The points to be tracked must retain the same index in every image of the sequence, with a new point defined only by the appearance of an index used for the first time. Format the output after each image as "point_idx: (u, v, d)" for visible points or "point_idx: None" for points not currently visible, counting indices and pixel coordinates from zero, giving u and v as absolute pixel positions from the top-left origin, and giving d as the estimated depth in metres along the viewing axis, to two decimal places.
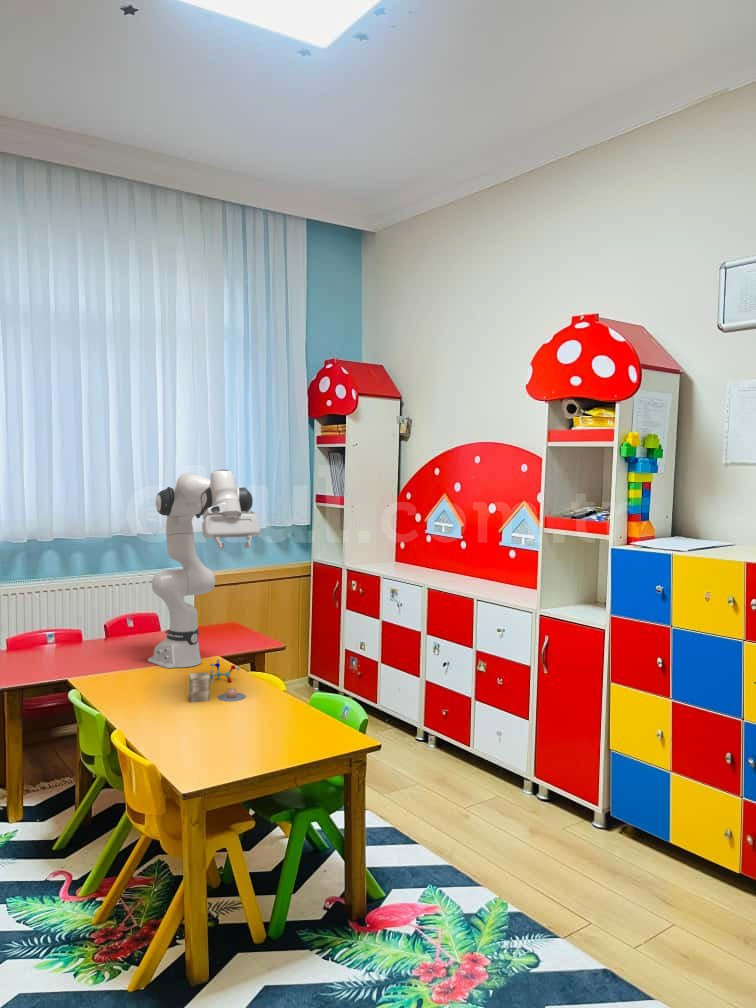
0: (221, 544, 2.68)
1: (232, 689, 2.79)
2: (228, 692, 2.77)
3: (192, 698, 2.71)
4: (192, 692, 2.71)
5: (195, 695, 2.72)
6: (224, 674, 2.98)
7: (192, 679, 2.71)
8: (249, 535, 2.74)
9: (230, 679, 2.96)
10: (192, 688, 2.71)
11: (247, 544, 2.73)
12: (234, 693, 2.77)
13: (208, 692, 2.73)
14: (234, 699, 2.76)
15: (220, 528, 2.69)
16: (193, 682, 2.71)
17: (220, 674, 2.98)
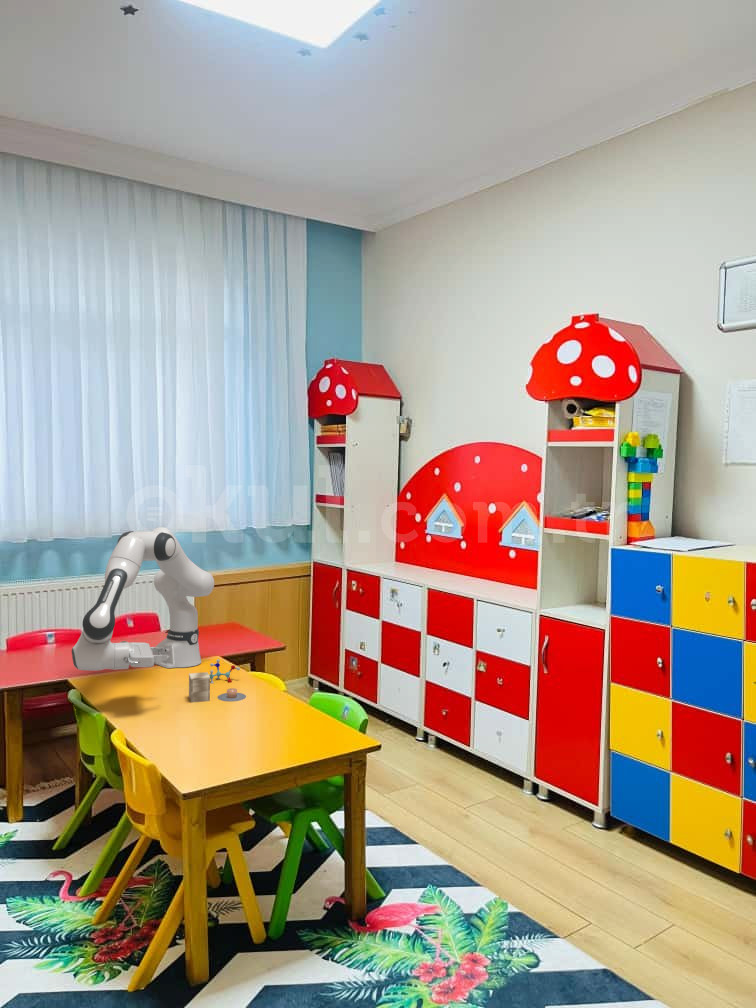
0: None
1: (232, 689, 2.79)
2: (228, 692, 2.77)
3: (192, 698, 2.71)
4: (192, 692, 2.71)
5: (195, 695, 2.72)
6: (224, 674, 2.98)
7: (192, 679, 2.71)
8: None
9: (230, 679, 2.96)
10: (192, 688, 2.71)
11: None
12: (234, 693, 2.77)
13: (208, 692, 2.73)
14: (234, 699, 2.76)
15: None
16: (193, 682, 2.71)
17: (220, 674, 2.98)
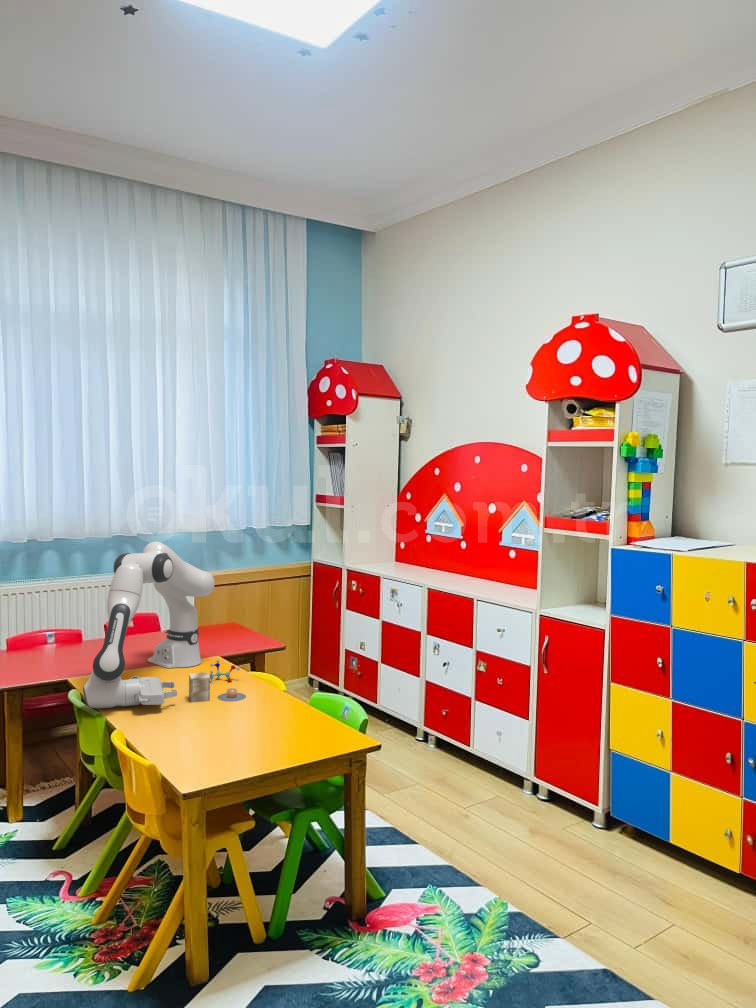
0: None
1: (232, 689, 2.79)
2: (228, 692, 2.77)
3: (192, 698, 2.71)
4: (192, 692, 2.71)
5: (195, 695, 2.72)
6: (224, 674, 2.98)
7: (192, 679, 2.71)
8: None
9: (230, 679, 2.96)
10: (192, 688, 2.71)
11: None
12: (234, 693, 2.77)
13: (208, 692, 2.73)
14: (234, 699, 2.76)
15: None
16: (194, 682, 2.71)
17: (220, 674, 2.98)
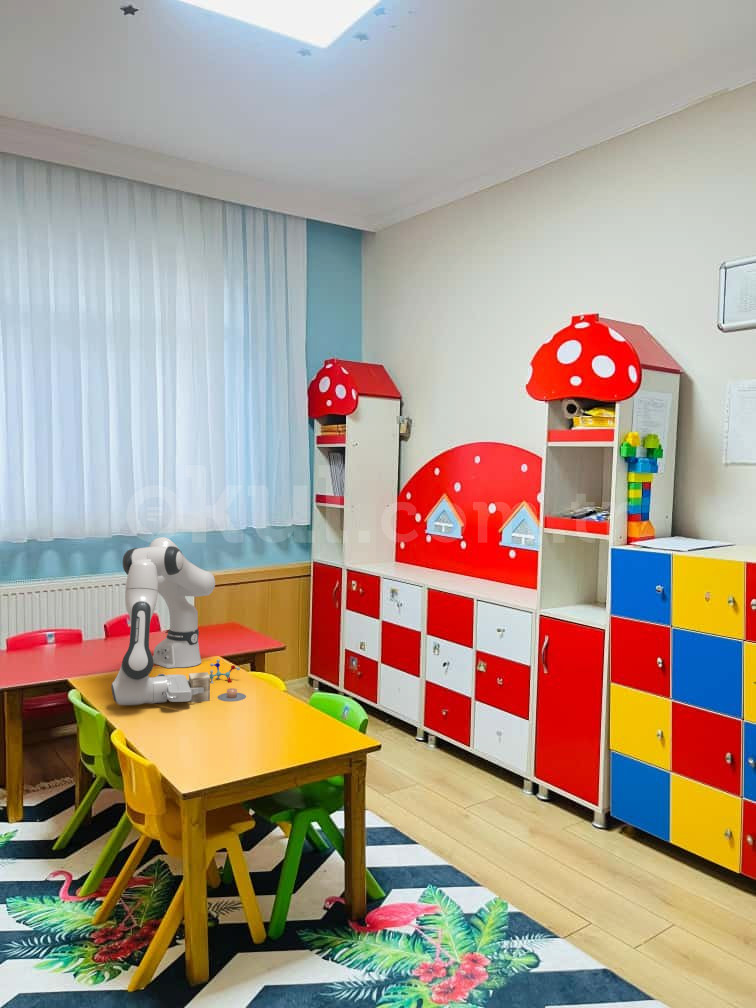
0: None
1: (232, 689, 2.79)
2: (228, 692, 2.77)
3: (192, 698, 2.71)
4: None
5: (195, 695, 2.72)
6: (224, 674, 2.98)
7: (192, 679, 2.71)
8: None
9: (230, 679, 2.96)
10: None
11: None
12: (234, 693, 2.77)
13: (208, 692, 2.73)
14: (234, 699, 2.76)
15: None
16: (193, 682, 2.71)
17: (220, 674, 2.98)
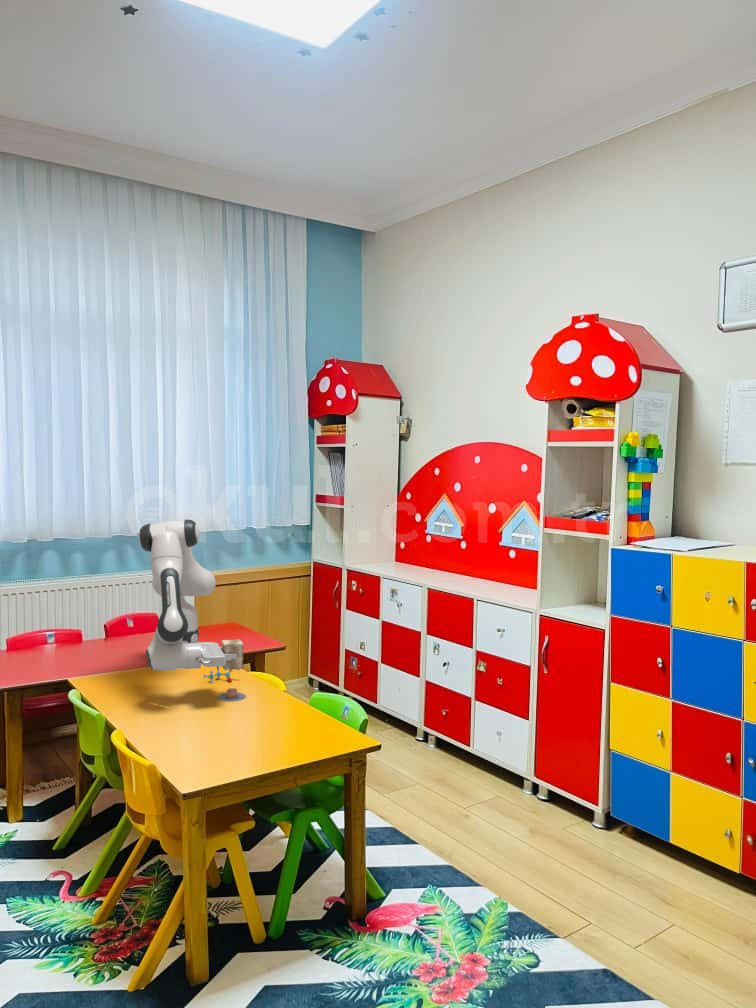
0: None
1: (232, 689, 2.79)
2: (228, 692, 2.77)
3: None
4: None
5: (228, 661, 2.74)
6: (224, 674, 2.98)
7: (225, 645, 2.73)
8: None
9: (230, 679, 2.96)
10: None
11: None
12: (234, 693, 2.77)
13: (241, 658, 2.75)
14: (234, 699, 2.76)
15: None
16: (227, 648, 2.73)
17: (220, 674, 2.98)
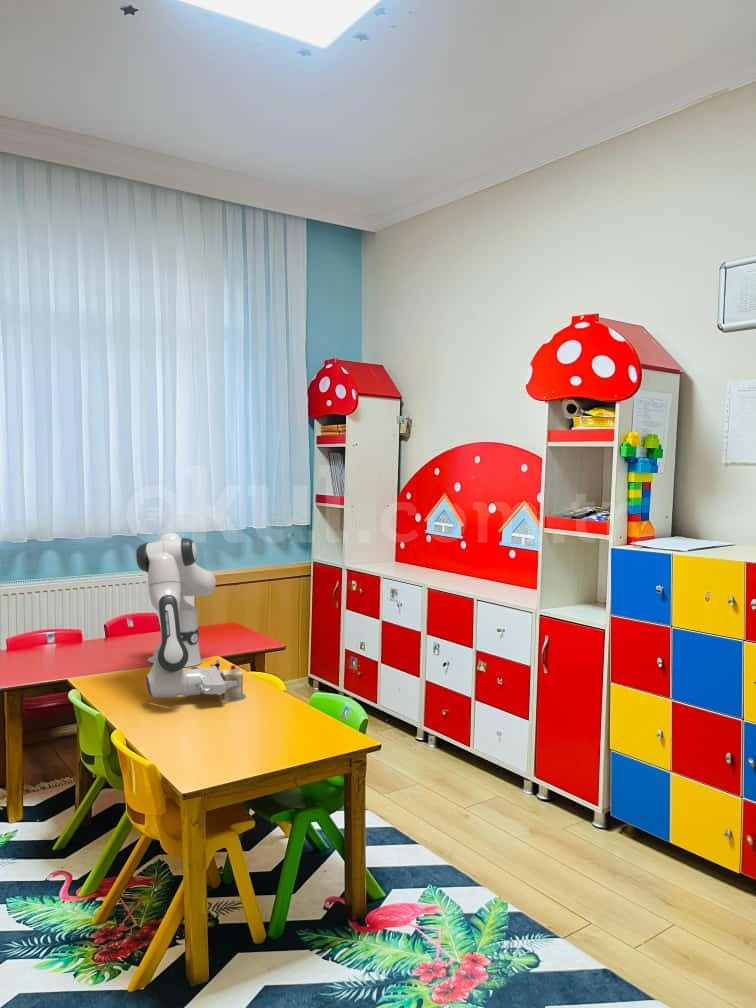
0: None
1: None
2: None
3: (225, 694, 2.74)
4: None
5: (228, 691, 2.75)
6: None
7: (225, 675, 2.74)
8: None
9: None
10: None
11: None
12: None
13: (241, 688, 2.76)
14: (234, 699, 2.76)
15: None
16: (227, 678, 2.74)
17: None
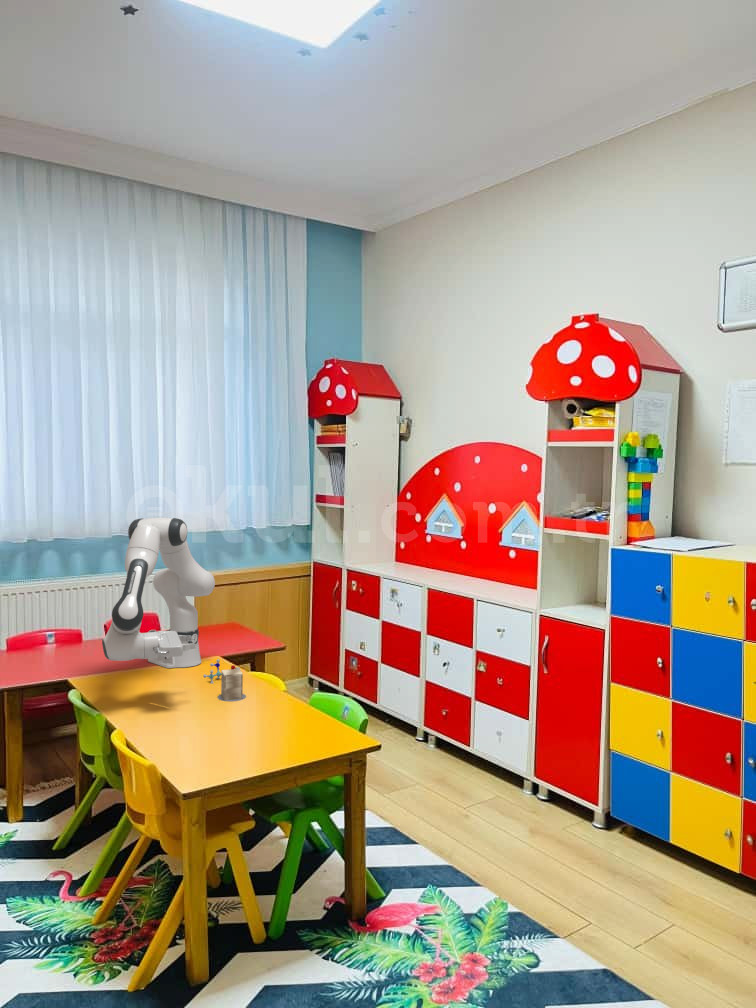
0: None
1: None
2: None
3: (225, 694, 2.74)
4: (225, 688, 2.74)
5: (228, 691, 2.75)
6: None
7: (225, 675, 2.74)
8: None
9: None
10: (225, 684, 2.74)
11: None
12: None
13: (241, 688, 2.76)
14: (234, 699, 2.76)
15: None
16: (227, 678, 2.74)
17: (220, 674, 2.98)
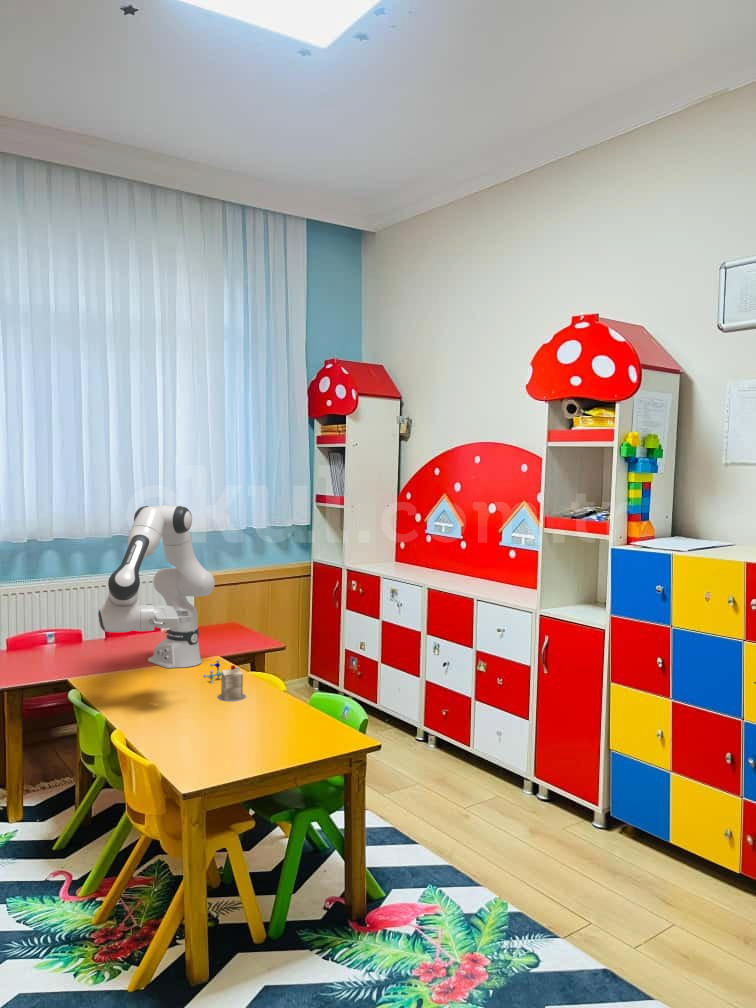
0: (184, 615, 2.78)
1: None
2: None
3: (225, 694, 2.74)
4: (225, 688, 2.74)
5: (228, 691, 2.75)
6: None
7: (225, 675, 2.74)
8: None
9: None
10: (225, 684, 2.74)
11: None
12: None
13: (241, 688, 2.76)
14: (234, 699, 2.76)
15: None
16: (227, 678, 2.74)
17: (220, 674, 2.98)
